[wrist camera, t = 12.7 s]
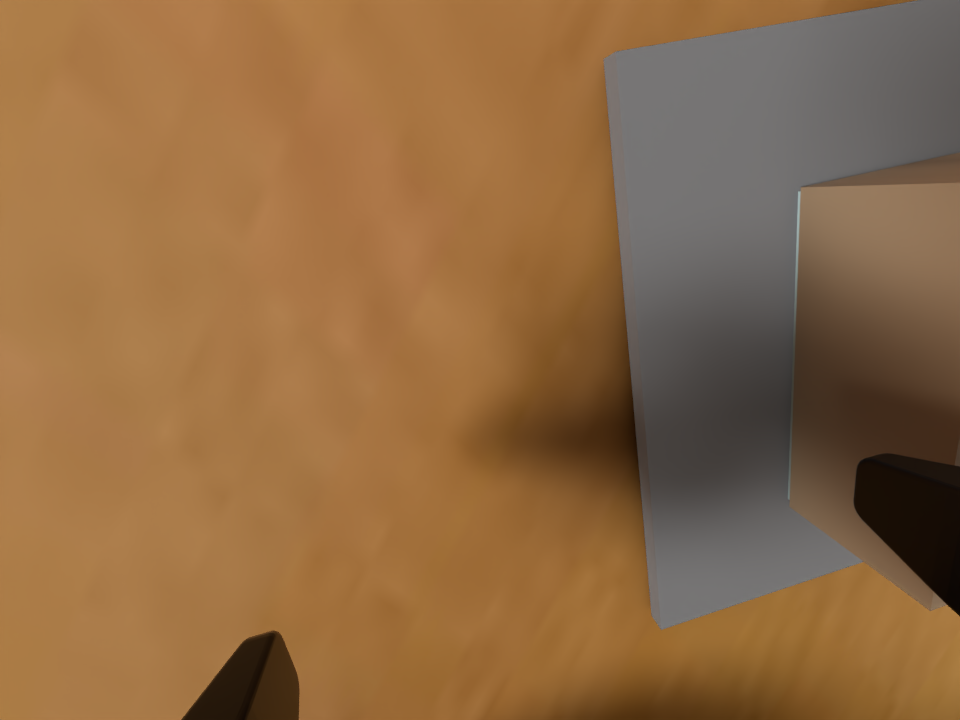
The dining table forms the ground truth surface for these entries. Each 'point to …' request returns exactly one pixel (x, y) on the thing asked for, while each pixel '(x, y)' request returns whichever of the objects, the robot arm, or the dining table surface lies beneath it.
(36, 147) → the dining table surface
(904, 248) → the light brown wooden block
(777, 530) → the rubber mat
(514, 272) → the dining table surface
